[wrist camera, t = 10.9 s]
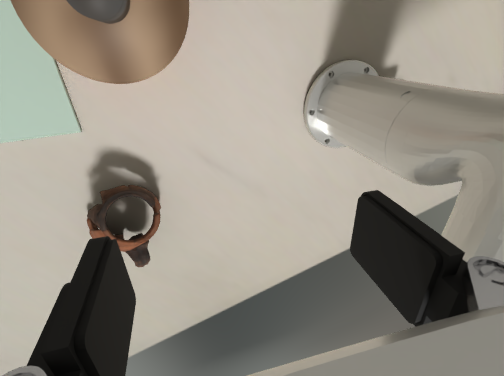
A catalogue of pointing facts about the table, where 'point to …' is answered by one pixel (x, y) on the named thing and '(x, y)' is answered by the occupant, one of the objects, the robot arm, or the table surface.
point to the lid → (108, 35)
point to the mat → (30, 86)
